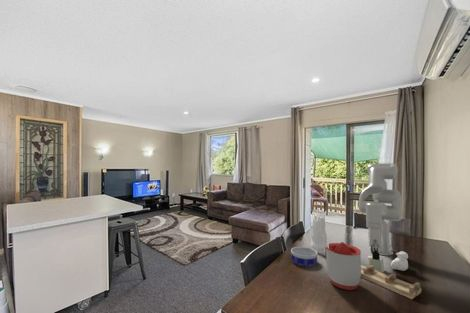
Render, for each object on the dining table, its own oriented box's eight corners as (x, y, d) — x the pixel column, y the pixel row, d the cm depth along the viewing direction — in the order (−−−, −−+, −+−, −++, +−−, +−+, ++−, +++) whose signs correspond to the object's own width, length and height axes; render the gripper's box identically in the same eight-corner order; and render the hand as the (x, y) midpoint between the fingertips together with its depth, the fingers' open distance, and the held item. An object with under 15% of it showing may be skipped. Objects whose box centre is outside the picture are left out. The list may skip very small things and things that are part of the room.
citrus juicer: (327, 271, 114) (326, 234, 116) (364, 282, 103) (363, 241, 105) (318, 283, 102) (317, 242, 103) (359, 297, 91) (357, 250, 92)
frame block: (368, 266, 120) (367, 255, 120) (383, 269, 117) (382, 257, 117) (368, 269, 117) (368, 257, 118) (383, 272, 114) (383, 260, 114)
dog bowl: (294, 254, 138) (294, 244, 139) (319, 259, 131) (319, 249, 131) (288, 263, 125) (287, 252, 126) (314, 269, 118) (314, 258, 118)
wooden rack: (355, 266, 121) (355, 258, 121) (421, 292, 95) (421, 282, 95) (345, 270, 116) (344, 262, 116) (411, 299, 90) (411, 288, 90)
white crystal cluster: (325, 255, 137) (324, 216, 138) (309, 251, 143) (308, 214, 145) (329, 249, 145) (328, 213, 147) (313, 246, 152) (313, 211, 153)
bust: (394, 275, 114) (408, 264, 109) (382, 262, 120) (395, 251, 114) (407, 271, 119) (421, 260, 114) (395, 259, 125) (407, 247, 119)
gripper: (365, 221, 128) (366, 250, 126) (367, 227, 113) (368, 260, 111) (380, 223, 124) (381, 253, 122) (384, 229, 109) (385, 263, 107)
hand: (375, 256), depth 117 cm, fingers open, 9 cm apart
